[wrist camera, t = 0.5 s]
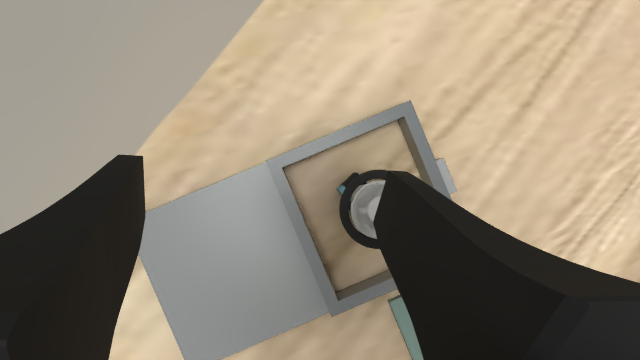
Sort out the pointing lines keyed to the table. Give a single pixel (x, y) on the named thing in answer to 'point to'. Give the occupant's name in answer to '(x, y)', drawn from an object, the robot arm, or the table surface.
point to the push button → (361, 205)
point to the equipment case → (258, 251)
